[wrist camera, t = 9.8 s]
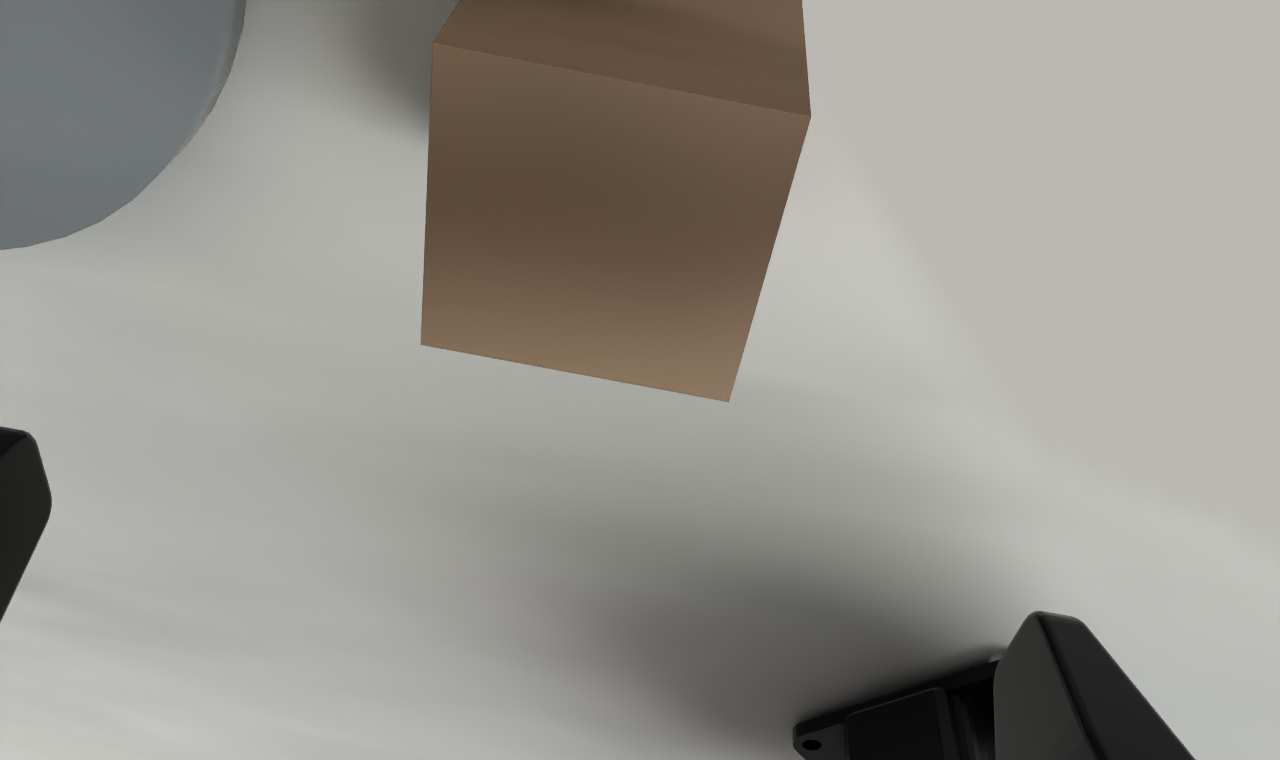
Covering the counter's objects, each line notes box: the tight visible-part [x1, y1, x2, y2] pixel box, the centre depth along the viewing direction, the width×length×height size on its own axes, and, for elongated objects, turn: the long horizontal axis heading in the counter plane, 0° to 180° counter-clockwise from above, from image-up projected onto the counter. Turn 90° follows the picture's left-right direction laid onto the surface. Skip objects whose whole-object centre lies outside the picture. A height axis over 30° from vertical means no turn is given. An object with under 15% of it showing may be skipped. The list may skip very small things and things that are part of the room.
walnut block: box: [421, 0, 811, 402], centre depth 15 cm, size 4×4×5 cm
